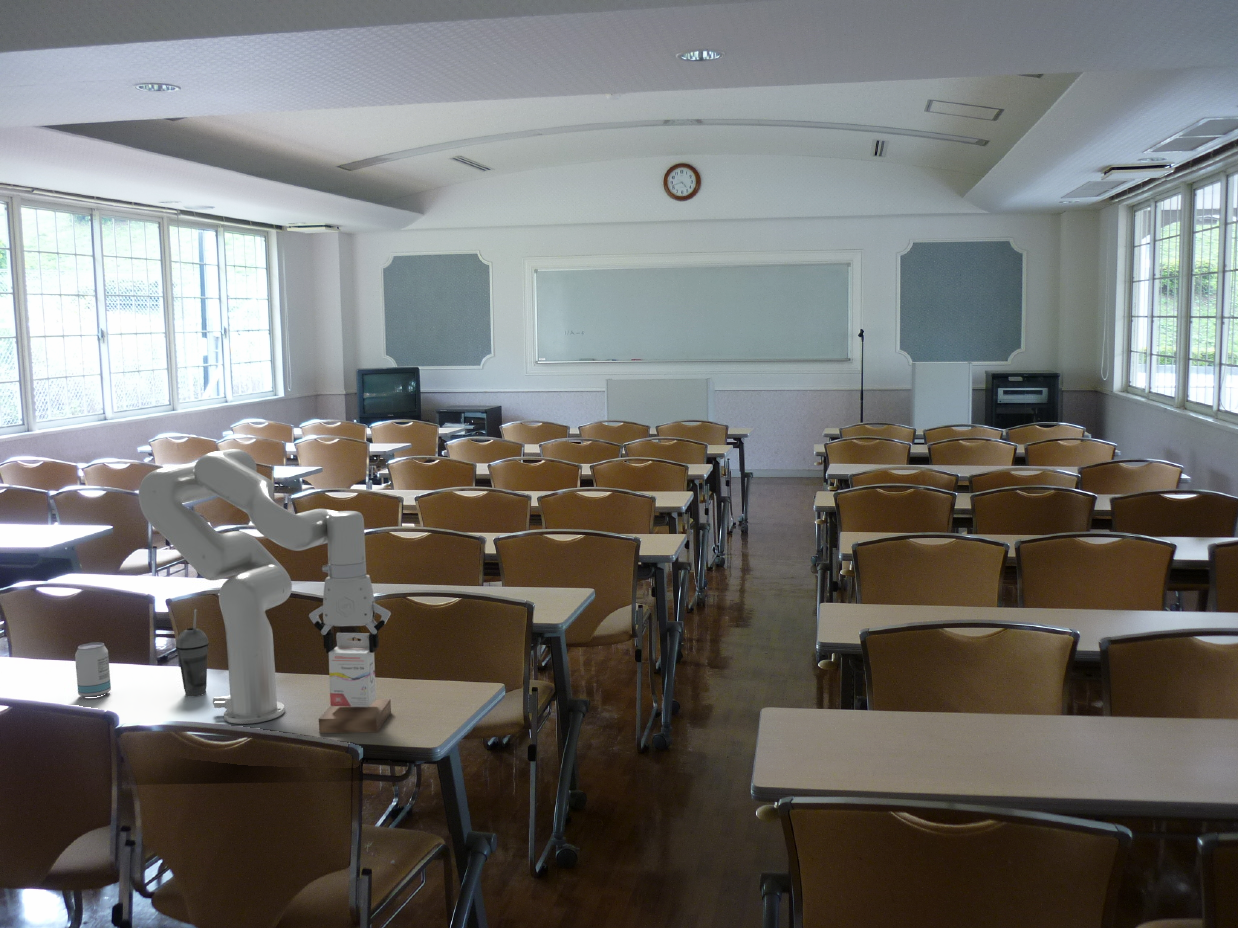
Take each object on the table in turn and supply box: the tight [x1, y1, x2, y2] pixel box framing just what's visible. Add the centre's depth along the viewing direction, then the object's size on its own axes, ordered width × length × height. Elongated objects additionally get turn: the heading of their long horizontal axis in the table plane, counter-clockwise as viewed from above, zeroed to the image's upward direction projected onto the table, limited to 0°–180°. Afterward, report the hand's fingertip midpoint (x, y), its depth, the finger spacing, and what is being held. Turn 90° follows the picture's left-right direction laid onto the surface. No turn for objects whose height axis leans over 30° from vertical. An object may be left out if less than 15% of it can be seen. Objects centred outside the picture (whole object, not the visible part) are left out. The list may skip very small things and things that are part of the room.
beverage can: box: [74, 642, 112, 698], centre depth 247 cm, size 7×7×12 cm
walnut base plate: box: [318, 698, 392, 734], centre depth 224 cm, size 12×12×3 cm
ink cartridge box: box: [328, 632, 377, 707], centre depth 223 cm, size 9×5×15 cm, turn 84°
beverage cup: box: [175, 608, 210, 697], centre depth 246 cm, size 7×7×20 cm
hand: (351, 651), depth 222 cm, fingers closed on ink cartridge box, 8 cm apart
